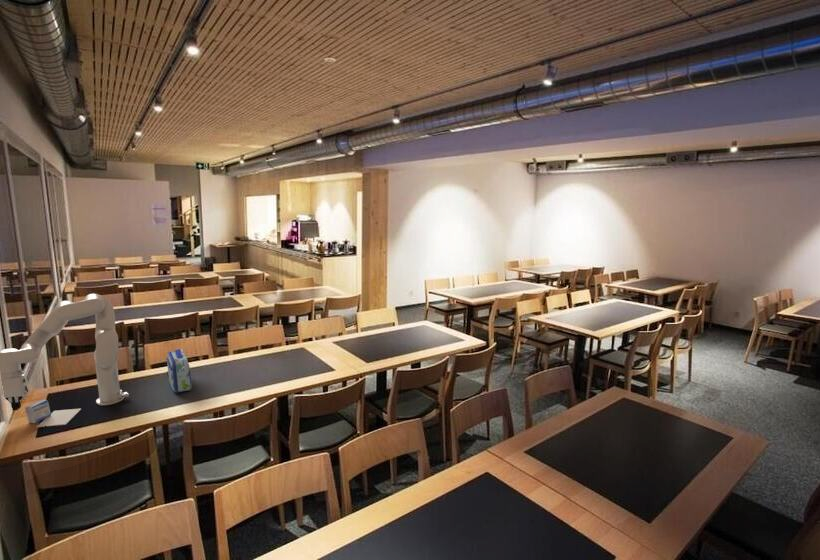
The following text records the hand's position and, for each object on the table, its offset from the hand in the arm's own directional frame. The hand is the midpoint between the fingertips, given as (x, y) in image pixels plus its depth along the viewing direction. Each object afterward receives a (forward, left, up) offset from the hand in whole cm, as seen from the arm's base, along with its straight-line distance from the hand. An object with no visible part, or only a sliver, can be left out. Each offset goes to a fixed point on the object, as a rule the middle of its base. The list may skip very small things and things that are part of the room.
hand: (16, 409), depth 211 cm
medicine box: (-9, 0, -7) cm, 11 cm away
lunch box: (-66, -28, -7) cm, 72 cm away
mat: (-18, 0, -7) cm, 19 cm away
